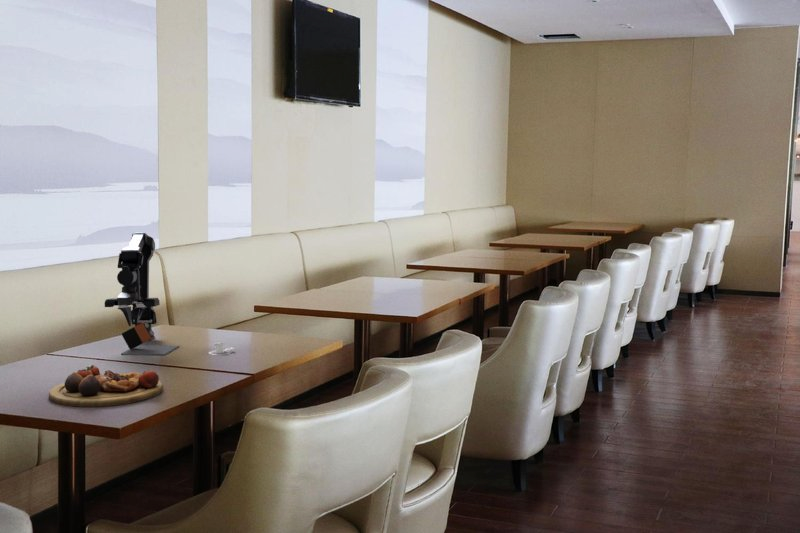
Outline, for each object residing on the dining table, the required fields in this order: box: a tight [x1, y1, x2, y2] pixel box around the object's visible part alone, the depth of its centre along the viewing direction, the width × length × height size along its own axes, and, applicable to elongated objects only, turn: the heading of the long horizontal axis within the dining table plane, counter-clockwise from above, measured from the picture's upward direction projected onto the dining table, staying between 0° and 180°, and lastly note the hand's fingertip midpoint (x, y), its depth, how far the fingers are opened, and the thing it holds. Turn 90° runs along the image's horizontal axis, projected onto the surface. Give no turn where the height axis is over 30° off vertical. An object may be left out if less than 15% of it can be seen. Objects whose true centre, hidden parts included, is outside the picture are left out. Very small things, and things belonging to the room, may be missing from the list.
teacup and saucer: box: [208, 341, 235, 356], centre depth 324 cm, size 9×8×4 cm
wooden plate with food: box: [48, 364, 164, 408], centre depth 264 cm, size 32×32×8 cm
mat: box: [120, 344, 180, 357], centre depth 328 cm, size 16×16×1 cm
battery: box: [121, 321, 155, 350], centre depth 327 cm, size 4×7×10 cm
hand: (133, 326), depth 327 cm, fingers closed
